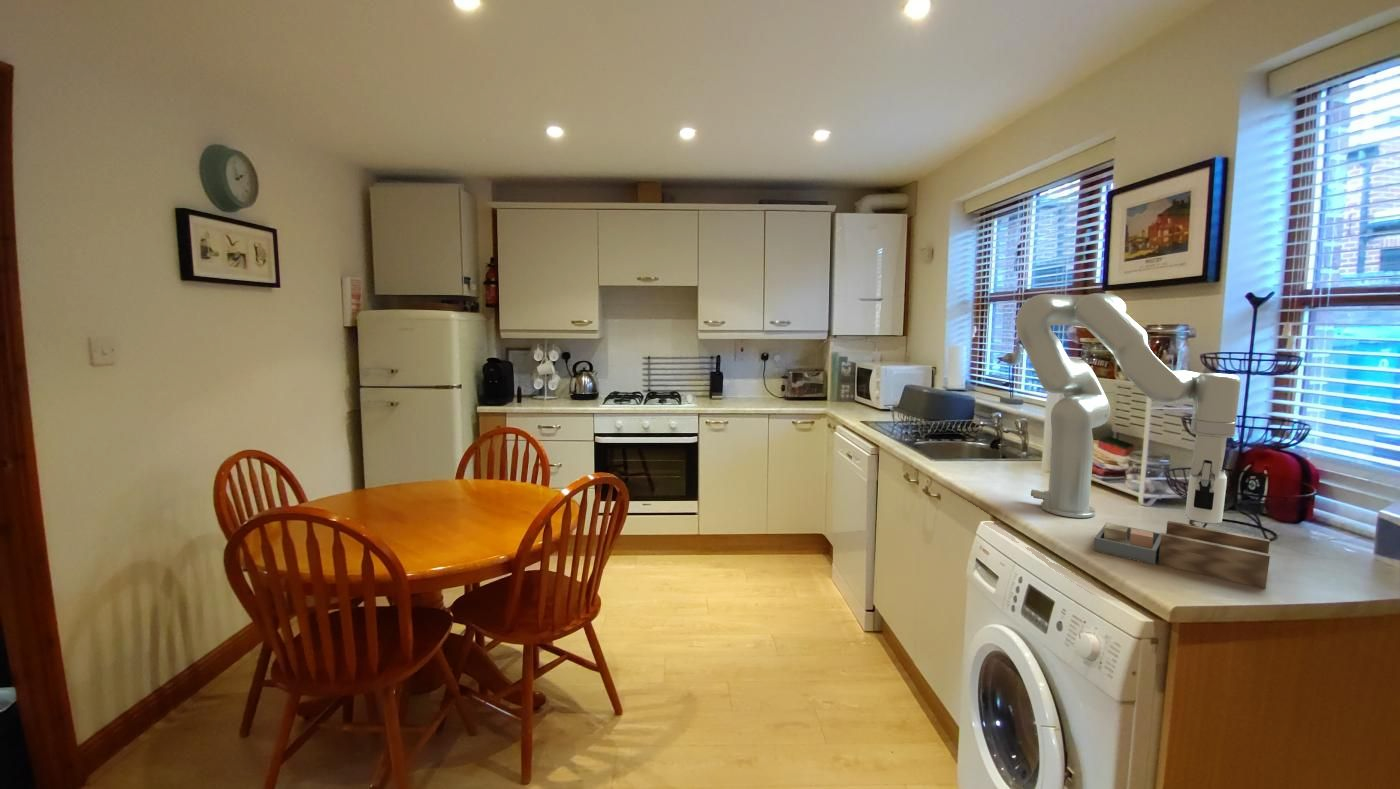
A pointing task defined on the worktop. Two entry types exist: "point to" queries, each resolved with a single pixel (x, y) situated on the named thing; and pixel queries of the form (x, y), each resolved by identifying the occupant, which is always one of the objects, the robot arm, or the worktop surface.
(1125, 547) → the tray
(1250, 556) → the slot block
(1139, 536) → the terracotta block
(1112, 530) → the maple block
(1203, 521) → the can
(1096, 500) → the worktop surface
